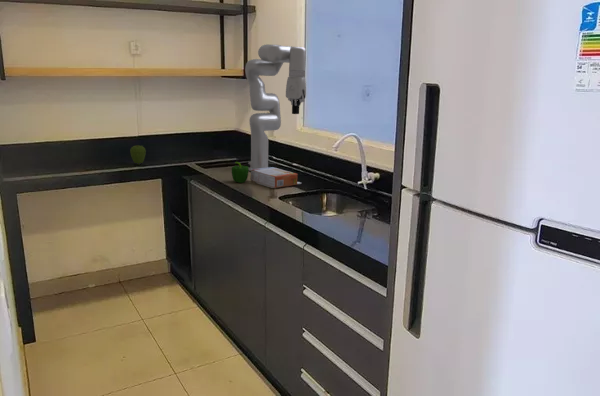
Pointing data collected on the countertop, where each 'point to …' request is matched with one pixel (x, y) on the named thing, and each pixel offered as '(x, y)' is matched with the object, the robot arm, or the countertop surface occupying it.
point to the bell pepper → (240, 173)
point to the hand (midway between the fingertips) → (295, 113)
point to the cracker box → (274, 177)
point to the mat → (273, 187)
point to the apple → (138, 153)
